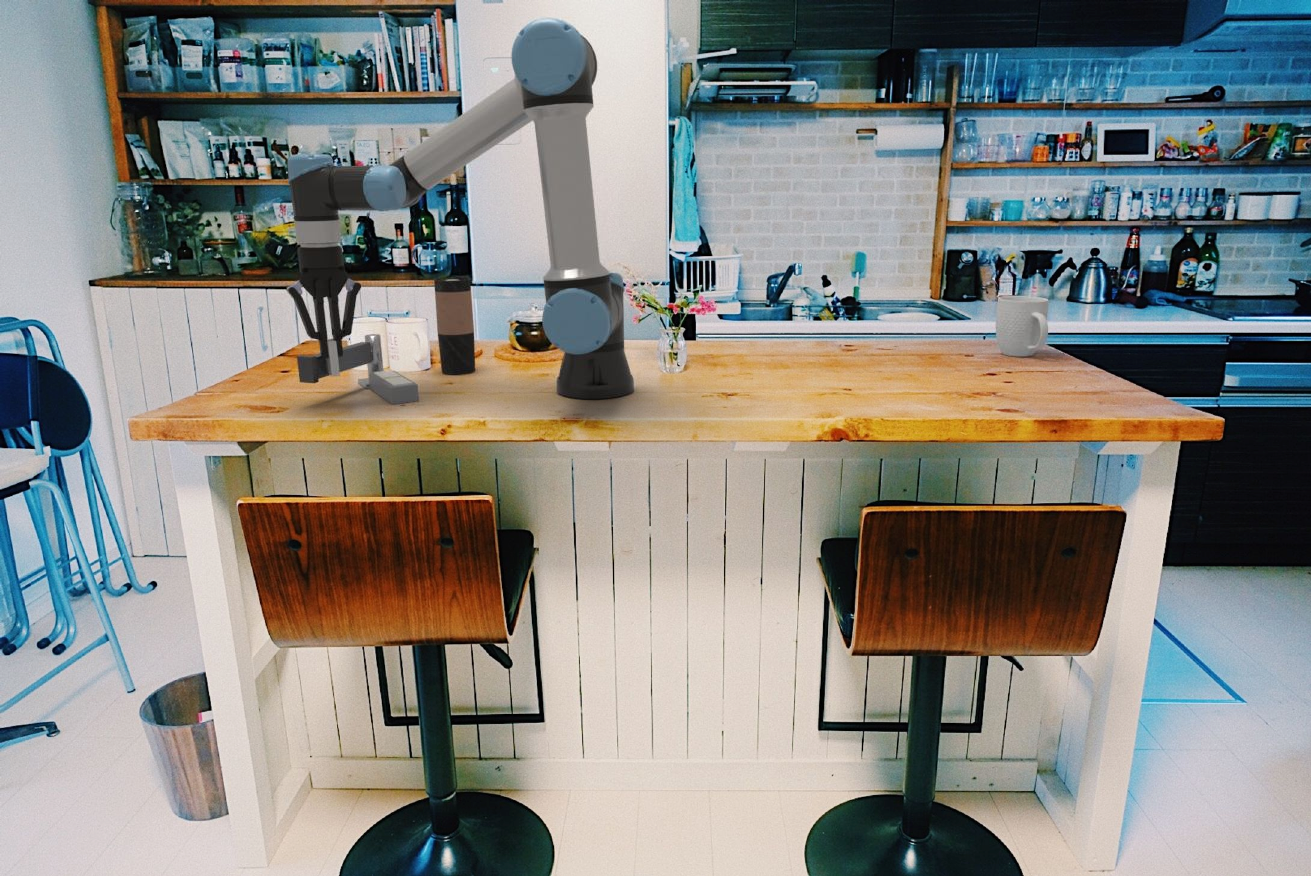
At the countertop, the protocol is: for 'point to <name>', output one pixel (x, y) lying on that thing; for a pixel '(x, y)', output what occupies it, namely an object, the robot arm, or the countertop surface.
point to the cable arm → (352, 357)
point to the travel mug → (455, 325)
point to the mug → (1021, 324)
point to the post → (373, 358)
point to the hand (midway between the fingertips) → (334, 374)
